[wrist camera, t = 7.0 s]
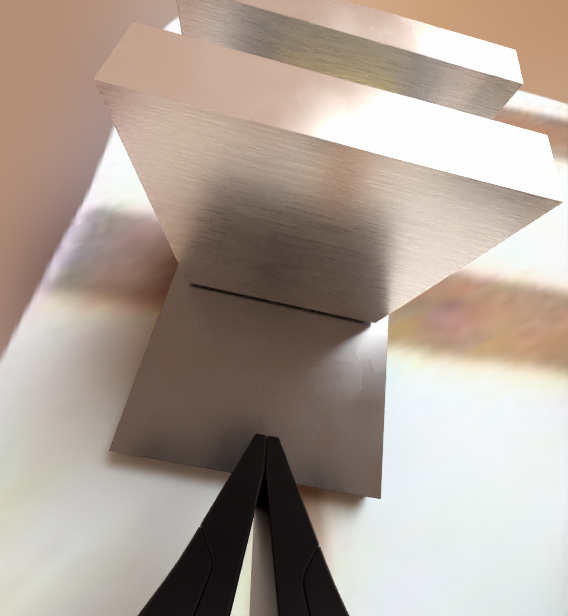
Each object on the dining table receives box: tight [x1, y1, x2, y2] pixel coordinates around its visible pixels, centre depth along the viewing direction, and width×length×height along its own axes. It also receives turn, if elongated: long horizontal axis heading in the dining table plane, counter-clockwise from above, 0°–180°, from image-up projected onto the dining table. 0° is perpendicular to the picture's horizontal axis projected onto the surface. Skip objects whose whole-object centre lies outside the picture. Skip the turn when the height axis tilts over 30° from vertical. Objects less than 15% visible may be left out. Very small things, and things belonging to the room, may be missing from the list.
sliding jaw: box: [93, 22, 564, 323], centre depth 12 cm, size 2×12×11 cm, turn 80°
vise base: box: [109, 0, 523, 499], centre depth 13 cm, size 20×14×12 cm
